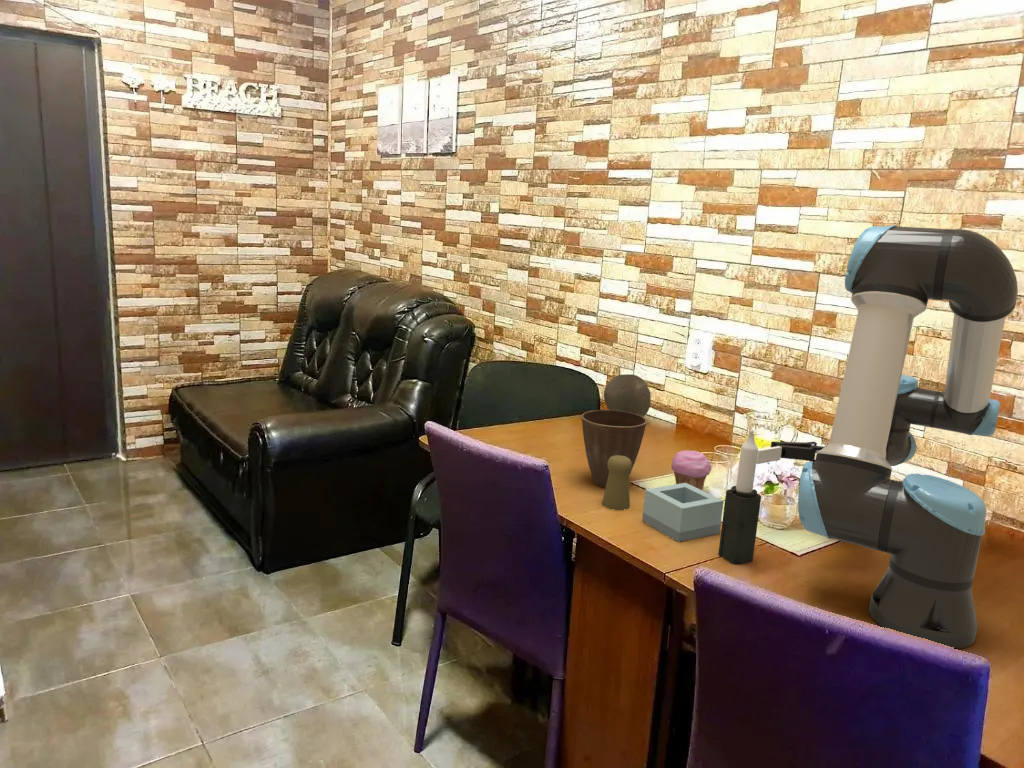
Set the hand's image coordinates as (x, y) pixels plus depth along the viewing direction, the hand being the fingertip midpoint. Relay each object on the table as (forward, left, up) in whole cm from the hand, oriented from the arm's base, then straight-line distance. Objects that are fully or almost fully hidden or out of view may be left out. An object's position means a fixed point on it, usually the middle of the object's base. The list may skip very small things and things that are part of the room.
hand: (784, 468), depth 141 cm
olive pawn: (+30, +15, -17) cm, 37 cm away
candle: (0, +10, -17) cm, 20 cm away
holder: (+15, +10, -16) cm, 24 cm away
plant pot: (+42, +8, -17) cm, 46 cm away
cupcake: (+30, -6, -17) cm, 35 cm away
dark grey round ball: (+85, -31, -17) cm, 92 cm away
